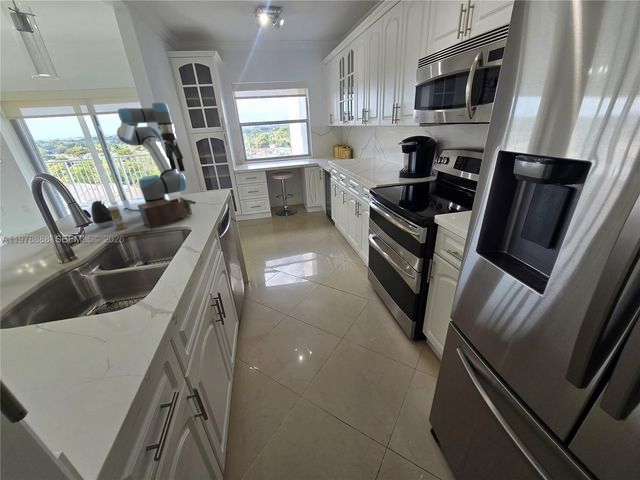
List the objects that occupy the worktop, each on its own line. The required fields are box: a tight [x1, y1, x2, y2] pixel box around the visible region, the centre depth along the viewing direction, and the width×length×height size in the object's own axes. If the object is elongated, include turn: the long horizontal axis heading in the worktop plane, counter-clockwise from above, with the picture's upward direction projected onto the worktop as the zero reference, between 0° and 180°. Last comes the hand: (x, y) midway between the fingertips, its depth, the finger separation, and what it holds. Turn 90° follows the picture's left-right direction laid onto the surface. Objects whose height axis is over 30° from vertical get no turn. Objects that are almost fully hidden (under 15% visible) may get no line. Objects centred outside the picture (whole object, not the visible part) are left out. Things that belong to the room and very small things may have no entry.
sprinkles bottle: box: [107, 204, 127, 231], centre depth 143 cm, size 5×5×13 cm
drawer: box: [168, 196, 196, 220], centre depth 157 cm, size 18×11×10 cm, turn 137°
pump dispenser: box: [90, 199, 115, 228], centre depth 148 cm, size 10×10×15 cm
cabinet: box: [137, 198, 179, 229], centre depth 149 cm, size 15×13×12 cm
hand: (178, 170), depth 157 cm, fingers open, 13 cm apart
